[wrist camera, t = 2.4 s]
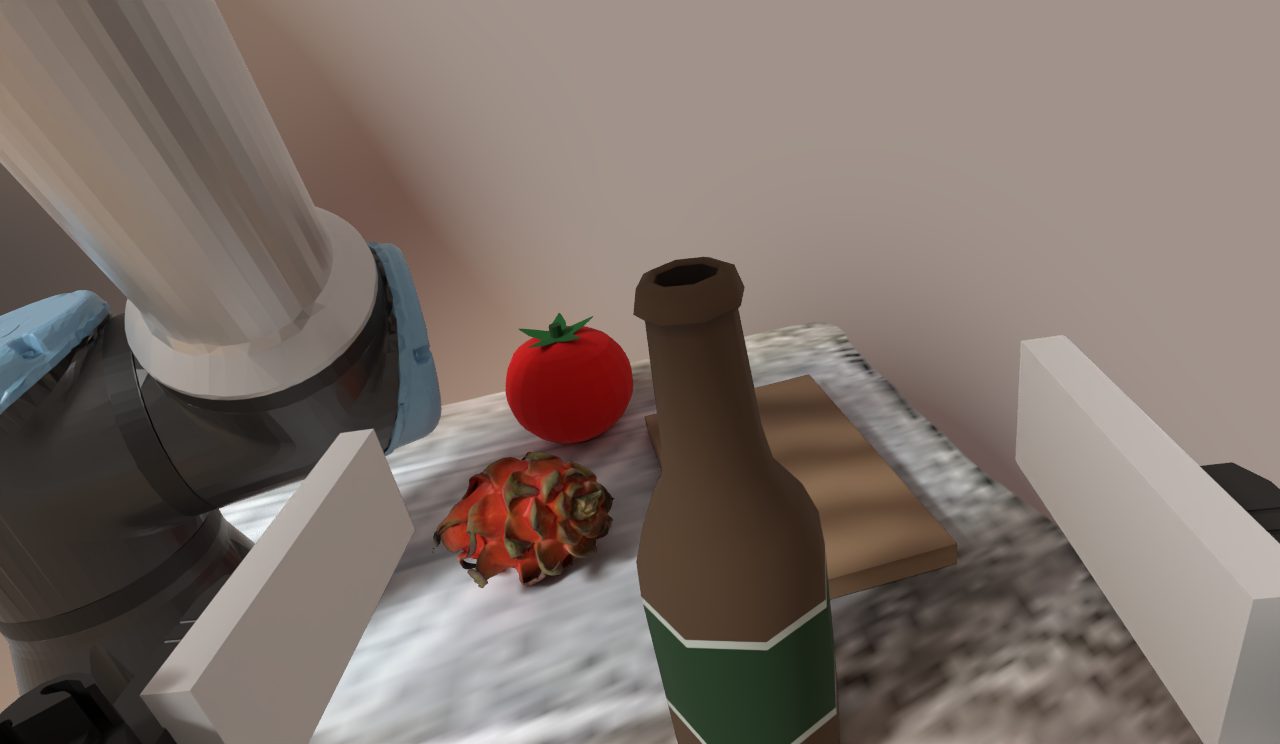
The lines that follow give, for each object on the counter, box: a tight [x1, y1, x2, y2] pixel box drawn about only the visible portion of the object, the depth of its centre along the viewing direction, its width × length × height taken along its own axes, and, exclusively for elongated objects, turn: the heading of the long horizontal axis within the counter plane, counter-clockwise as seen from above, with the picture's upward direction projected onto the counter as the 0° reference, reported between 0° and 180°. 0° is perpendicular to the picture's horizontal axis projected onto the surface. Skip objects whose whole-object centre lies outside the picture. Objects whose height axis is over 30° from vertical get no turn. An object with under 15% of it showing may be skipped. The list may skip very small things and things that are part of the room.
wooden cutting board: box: [645, 375, 957, 599], centre depth 52 cm, size 22×14×2 cm, turn 11°
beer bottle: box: [634, 257, 840, 744], centre depth 30 cm, size 8×8×24 cm
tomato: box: [506, 313, 633, 443], centre depth 61 cm, size 10×10×10 cm
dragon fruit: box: [432, 452, 614, 588], centre depth 48 cm, size 8×8×12 cm
